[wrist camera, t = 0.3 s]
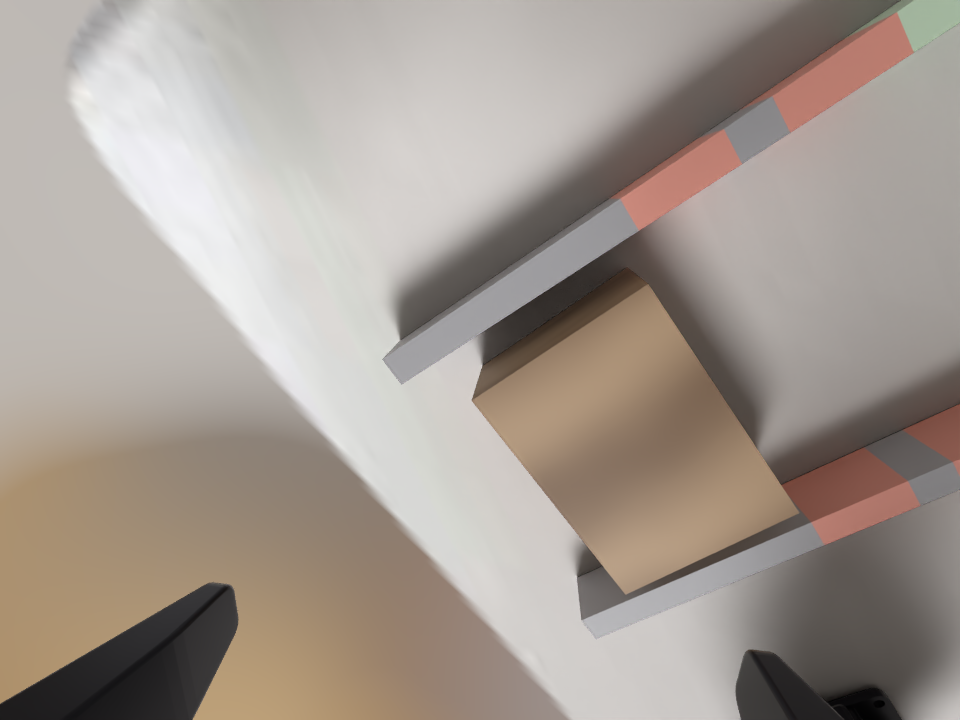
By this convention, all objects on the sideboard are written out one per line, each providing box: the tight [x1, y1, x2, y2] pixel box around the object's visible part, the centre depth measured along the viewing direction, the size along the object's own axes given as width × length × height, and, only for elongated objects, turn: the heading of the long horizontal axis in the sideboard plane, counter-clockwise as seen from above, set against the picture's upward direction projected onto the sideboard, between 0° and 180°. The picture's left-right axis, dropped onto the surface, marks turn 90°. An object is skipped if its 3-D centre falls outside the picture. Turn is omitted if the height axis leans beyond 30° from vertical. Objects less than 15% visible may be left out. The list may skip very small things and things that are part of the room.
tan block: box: [472, 268, 799, 595], centre depth 19 cm, size 10×7×4 cm
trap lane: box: [382, 0, 960, 639], centre depth 17 cm, size 15×29×3 cm, turn 124°
